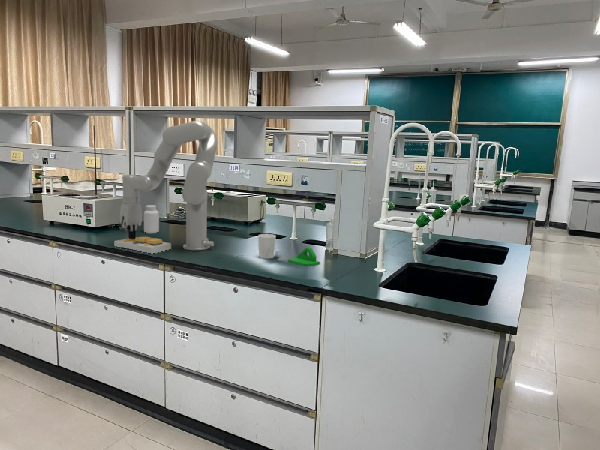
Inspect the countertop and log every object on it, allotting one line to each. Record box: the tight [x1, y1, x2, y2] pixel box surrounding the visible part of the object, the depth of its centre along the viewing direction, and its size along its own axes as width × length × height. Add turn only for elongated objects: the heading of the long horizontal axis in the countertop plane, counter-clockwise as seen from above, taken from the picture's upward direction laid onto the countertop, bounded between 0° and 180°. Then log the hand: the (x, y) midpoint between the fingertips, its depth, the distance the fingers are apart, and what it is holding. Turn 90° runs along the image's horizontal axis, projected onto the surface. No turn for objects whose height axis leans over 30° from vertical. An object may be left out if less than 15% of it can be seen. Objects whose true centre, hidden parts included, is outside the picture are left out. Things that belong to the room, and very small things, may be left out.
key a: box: [146, 237, 163, 246], centre depth 209 cm, size 5×5×3 cm
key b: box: [135, 235, 152, 244], centre depth 212 cm, size 5×5×3 cm
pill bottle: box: [143, 204, 160, 234], centre depth 250 cm, size 8×8×15 cm
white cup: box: [257, 233, 277, 260], centre depth 205 cm, size 8×8×10 cm
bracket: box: [287, 247, 321, 267], centre depth 197 cm, size 12×8×7 cm, turn 50°
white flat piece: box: [113, 236, 172, 255], centre depth 212 cm, size 24×12×4 cm, turn 63°
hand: (132, 238), depth 216 cm, fingers closed
